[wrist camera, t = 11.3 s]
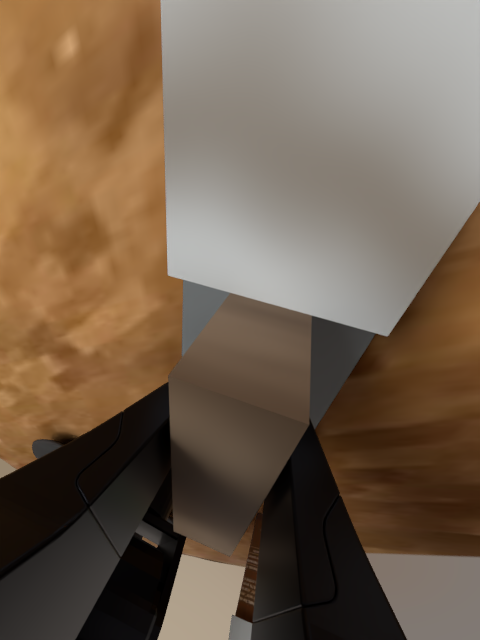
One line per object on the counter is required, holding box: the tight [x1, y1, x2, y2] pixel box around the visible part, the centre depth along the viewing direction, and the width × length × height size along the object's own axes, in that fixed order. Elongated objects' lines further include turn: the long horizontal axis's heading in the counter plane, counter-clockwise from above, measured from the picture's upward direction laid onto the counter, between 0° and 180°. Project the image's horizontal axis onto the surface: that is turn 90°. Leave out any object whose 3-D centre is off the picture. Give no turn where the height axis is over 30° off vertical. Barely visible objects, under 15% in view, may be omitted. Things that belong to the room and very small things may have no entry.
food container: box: [229, 513, 263, 640], centre depth 23 cm, size 12×6×10 cm, turn 24°
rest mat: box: [182, 280, 376, 429], centre depth 11 cm, size 22×10×1 cm, turn 170°
